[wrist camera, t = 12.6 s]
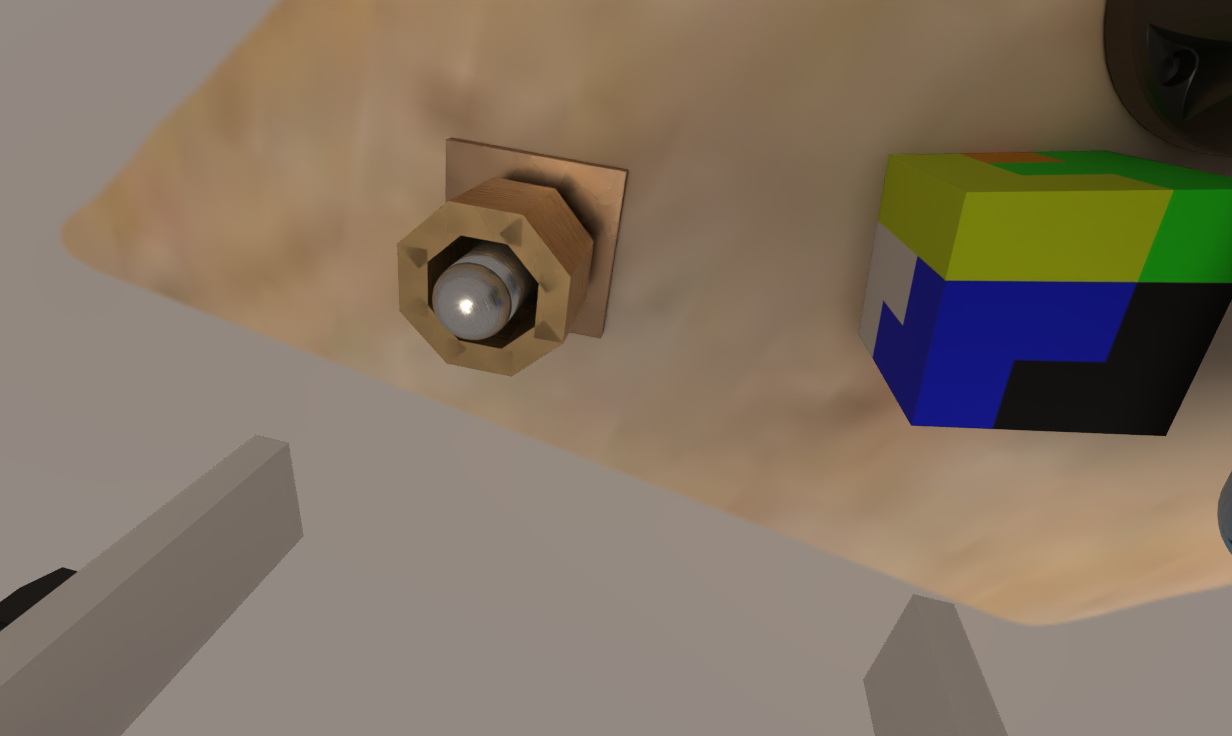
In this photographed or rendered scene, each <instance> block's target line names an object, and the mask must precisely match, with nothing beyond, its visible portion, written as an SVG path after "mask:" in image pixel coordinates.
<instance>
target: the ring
mask: <svg viewBox="0 0 1232 736" xmlns="http://www.w3.org/2000/svg"><path fill="white" fill-rule="evenodd" d="M474 238H477V239H483V240H488V241H493V242H498V243H504V244H508V245H509V246H510V248H511V249H512V250H513V252H514V253H515V254H516V255H517V257H518V258H519V259H520V260H521V262H522V263H523V264H524V265H525V267H526V268H527V269H528V270H529V272H530V273H531V274H532V275H533V277H534V278H535V279H536V281H537V282H538V283H539V288H538V299H537V302H536V303H535V304H532V303H527V302H523V303H522V304H521V306H520V307H519V308H518V309H517V311H516V312H515V313H514V315H513V316H512V317H511V318H510V320H509V321H508V322H507V324H506V325H505V326H504V327H503V328H502V329H501V330H500V331H499V332H498V333H496V334H494V335H492V336H490V337H488V338H484V339H480V340H469V339H463V338H460V337H458V336H455V335H454V334H452V333H450V332H449V331H448V330H446V329H445V328H444V327H443V326H442V324H441V323H440V322H439V320H438V319H437V317H436V315H435V312H434V309H433V302H432V295H433V290H434V286H435V284H436V282H437V280H438V278H439V277H440V275H441V274H442V273H443V272H444V271H445V270H446V269H447V268H449V267H450V266H451V265H453V264H454V263H455V262H456V261H458V260H459V259H460V258H462V257H463V256H464V255H465V254H467V253H468V252H469V251H470V250H472V249H473V248H474ZM593 244H594V241H593V239H592V238H591V237H590V235H589V234H588V232H587V231H586V230H585V228H584V227H583V226H582V224H581V223H580V222H579V220H578V219H577V218H576V216H575V215H574V213H573V212H572V211H571V209H570V208H569V207H568V205H567V204H566V203H565V201H564V200H563V198H562V197H561V196H560V194H559V193H558V192H557V190H556V189H555V188H549V187H544V186H538V185H533V184H527V183H522V182H516V181H511V180H505V179H500V178H495V177H493V178H491V179H489V180H487V181H485V182H483V183H481V184H479V185H477V186H476V187H474V188H472V189H470V190H468V191H466V192H464V193H462V194H460V195H458V196H456V197H454V198H452V199H451V200H449V201H447V202H446V203H445V204H444V205H443V206H442V207H440V208H439V209H438V210H437V211H436V212H434V213H433V214H432V215H431V216H430V217H429V218H427V219H426V220H425V221H424V222H423V223H422V224H420V225H419V226H418V227H417V228H416V229H414V230H413V231H412V232H411V233H410V234H409V235H407V236H406V237H405V238H404V239H403V240H401V241H400V242H399V243H398V244H397V250H398V278H399V306H400V312H401V313H402V314H403V315H404V316H405V318H406V319H407V320H408V321H409V322H410V323H411V324H412V325H413V326H414V328H415V329H416V330H417V331H418V332H419V333H420V334H421V335H422V336H423V338H424V339H425V340H426V341H427V342H428V343H429V344H430V345H431V346H432V348H433V349H434V350H435V351H436V352H437V353H438V354H439V355H440V356H441V358H442V359H443V360H444V361H445V362H446V363H447V364H452V365H457V366H462V367H467V368H472V369H477V370H482V371H487V372H492V373H497V374H502V375H507V376H513V375H514V374H516V373H518V372H519V371H521V370H522V369H524V368H525V367H527V366H528V365H530V364H532V363H533V362H535V361H536V360H538V359H539V358H541V357H542V356H544V355H546V354H547V353H549V352H550V351H552V350H553V349H555V348H556V347H558V346H559V345H561V344H563V342H564V340H565V339H566V337H567V335H568V333H569V331H570V329H571V327H572V325H573V323H574V321H575V319H576V317H577V315H578V313H579V311H580V309H581V308H582V306H583V304H584V302H585V300H586V296H587V289H588V281H589V274H590V266H591V259H592V251H593Z"/></svg>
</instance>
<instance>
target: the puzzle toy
mask: <svg viewBox="0 0 1232 736" xmlns="http://www.w3.org/2000/svg"><path fill="white" fill-rule="evenodd" d="M1231 300H1232V177H1228V176H1223V175H1218V174H1213V173H1209V172H1204V171H1199V170H1195V169H1190V168H1185V167H1180V166H1176V165H1171V164H1166V163H1161V162H1157V161H1152V160H1147V159H1143V158H1138V157H1133V156H1128V155H1124V154H1119V153H1114V152H1109V151H1063V152H1012V153H961V154H911V155H889V158H888V164H887V170H886V176H885V182H884V188H883V194H882V199H881V205H880V211H879V217H878V223H877V229H876V234H875V240H874V246H873V252H872V258H871V264H870V269H869V275H868V281H867V287H866V293H865V299H864V305H863V310H862V316H861V322H860V328H859V335H860V337H861V339H862V341H863V342H864V344H865V346H866V347H867V349H868V351H869V353H870V354H871V356H872V358H873V360H874V361H875V363H876V365H877V367H878V368H879V370H880V372H881V374H882V375H883V377H884V379H885V381H886V382H887V384H888V386H889V388H890V389H891V391H892V393H893V395H894V396H895V398H896V400H897V402H898V403H899V405H900V407H901V409H902V410H903V412H904V414H905V416H906V417H907V419H908V421H909V423H910V424H911V426H935V427H959V428H983V429H1008V430H1032V431H1056V432H1080V433H1104V434H1128V435H1153V436H1166V435H1167V432H1168V430H1169V428H1170V426H1171V424H1172V422H1173V420H1174V418H1175V416H1176V414H1177V412H1178V410H1179V408H1180V406H1181V404H1182V401H1183V399H1184V397H1185V395H1186V393H1187V391H1188V389H1189V387H1190V385H1191V383H1192V381H1193V379H1194V377H1195V375H1196V372H1197V370H1198V368H1199V366H1200V364H1201V362H1202V360H1203V358H1204V356H1205V354H1206V352H1207V350H1208V348H1209V346H1210V343H1211V341H1212V339H1213V337H1214V335H1215V333H1216V331H1217V329H1218V327H1219V325H1220V323H1221V321H1222V319H1223V317H1224V314H1225V312H1226V310H1227V308H1228V306H1229V304H1230V302H1231Z"/></svg>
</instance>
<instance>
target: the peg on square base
mask: <svg viewBox="0 0 1232 736" xmlns="http://www.w3.org/2000/svg"><path fill="white" fill-rule="evenodd" d="M627 172H628V170H627V169H621V168H616V167H610V166H605V165H599V164H594V163H588V162H582V161H577V160H571V159H566V158H560V157H555V156H549V155H544V154H538V153H533V152H527V151H522V150H516V149H510V148H505V147H499V146H494V145H488V144H483V143H477V142H472V141H466V140H461V139H455V138H450V139H446V202H447V201H449V200H451V199H452V198H454V197H456V196H458V195H460V194H462V193H464V192H466V191H468V190H470V189H472V188H474V187H476V186H477V185H479V184H481V183H483V182H485V181H487V180H489V179H491V178H493V177H495V178H500V179H505V180H511V181H516V182H522V183H527V184H533V185H538V186H544V187H549V188H555V189H556V190H557V192H558V193H559V194H560V196H561V197H562V198H563V200H564V201H565V203H566V204H567V205H568V207H569V208H570V209H571V211H572V212H573V213H574V215H575V216H576V218H577V219H578V220H579V222H580V223H581V224H582V226H583V227H584V228H585V230H586V231H587V232H588V234H589V235H590V237H591V238H592V239H593V241H594V244H593V251H592V259H591V266H590V274H589V281H588V289H587V296H586V300H585V302H584V304H583V306H582V308H581V309H580V311H579V313H578V315H577V317H576V319H575V321H574V323H573V325H572V327H571V329H570V331H569V332H571V333H576V334H581V335H586V336H591V337H596V338H601V337H602V334H603V330H604V323H605V317H606V310H607V303H608V297H609V290H610V284H611V277H612V271H613V264H614V257H615V251H616V244H617V238H618V231H619V225H620V218H621V212H622V205H623V198H624V192H625V185H626V179H627ZM538 288H539V283H538V282H537V281H536V279H535V278H534V277H533V275H532V274H531V273H530V272H529V270H528V269H527V268H526V267H525V265H524V264H523V263H522V262H521V260H520V259H519V258H518V257H517V255H516V254H515V253H514V252H513V250H512V249H511V248H510V246H509V245H508V244H504V243H498V242H493V241H488V240H483V239H477V238H474V248H473V249H472V250H470V251H469V252H468V253H467V254H465V255H464V256H463V257H462V258H460V259H459V260H458V261H456V262H455V263H454V264H453V265H451V266H450V267H449V268H447V269H446V270H445V271H444V272H443V273H442V274H441V275H440V277H439V278H438V280H437V282H436V284H435V286H434V290H433V295H432V302H433V309H434V312H435V315H436V317H437V319H438V320H439V322H440V323H441V324H442V326H443V327H444V328H445V329H446V330H448V331H449V332H450V333H452V334H454V335H455V336H458V337H460V338H463V339H469V340H480V339H484V338H488V337H490V336H492V335H494V334H496V333H498V332H499V331H500V330H501V329H502V328H503V327H504V326H505V325H506V324H507V322H508V321H509V320H510V318H511V317H512V316H513V315H514V313H515V312H516V311H517V309H518V308H519V307H520V306H521V304H522V303H523V302H527V303H532V304H535V303H536V302H537V299H538Z"/></svg>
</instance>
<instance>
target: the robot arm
mask: <svg viewBox="0 0 1232 736" xmlns="http://www.w3.org/2000/svg"><path fill="white" fill-rule="evenodd" d="M1105 42H1106V54H1107V61H1108V66H1109V70H1110V74H1111V77H1112V80H1113V83H1114V86H1115V88H1116V90H1117V92H1118V94H1119V97H1120V98H1121V100H1122V102H1123V103H1124V105H1125V107H1126V108H1127V109H1128V111H1129V112H1130V113H1131V114H1132V116H1133V117H1134V118H1135V119H1136V120H1137V121H1138V122H1139V123H1140V124H1141V125H1142V126H1144V127H1145V128H1146V129H1147V130H1148V131H1150V132H1151V133H1153V134H1154V135H1156V136H1157V137H1159V138H1161V139H1163V140H1165V141H1167V142H1168V143H1171V144H1173V145H1176V146H1178V147H1181V148H1185V149H1188V150H1192V151H1196V152H1201V153H1207V154H1213V155H1219V156H1224V157H1230V158H1232V0H1108V6H1107V14H1106V25H1105ZM1218 524H1219V530H1220V533H1221V537H1222V539H1223V541H1224V543H1225V545H1226V547H1227V548H1228V550H1229V552H1230V553H1231V554H1232V472H1231V473H1230V475H1229V477H1228V479H1227V481H1226V483H1225V485H1224V487H1223V489H1222V491H1221V494H1220V498H1219V501H1218ZM302 537H303V530H302V523H301V517H300V512H299V505H298V499H297V492H296V486H295V480H294V473H293V467H292V461H291V455H290V448H289V443H288V442H284V441H280V440H276V439H272V438H267V437H264V436H259V435H254V436H253V437H252V438H251V439H249V440H248V441H247V442H245V443H244V444H243V445H242V446H241V447H239V448H238V449H236V450H235V451H234V452H232V453H231V454H230V455H229V456H227V457H226V458H225V459H223V460H222V461H221V462H219V463H218V464H217V465H216V466H214V467H213V468H212V469H210V470H209V471H208V472H207V473H205V474H204V475H203V476H201V477H200V478H199V479H197V480H196V481H195V482H194V483H192V484H191V485H190V486H188V487H187V488H186V489H184V490H183V491H182V492H181V493H179V494H178V495H177V496H175V497H174V498H173V499H172V500H170V501H169V502H168V503H166V504H165V505H164V506H162V507H161V508H160V509H159V510H157V511H156V512H155V513H153V514H152V515H151V516H149V517H148V518H147V519H146V520H144V521H143V522H142V523H140V524H139V525H138V526H136V527H135V528H134V529H133V530H132V531H130V532H129V533H128V534H126V535H125V536H123V537H122V538H121V539H120V540H118V541H117V542H116V543H114V544H113V545H112V546H111V547H109V548H108V549H107V550H105V551H104V552H103V553H101V554H100V555H99V556H98V557H96V558H95V559H94V560H92V561H91V562H90V563H88V564H87V565H86V566H85V567H83V568H82V569H81V570H79V571H78V572H77V571H74V570H70V569H66V568H63V567H62V568H60V569H58V570H56V571H54V572H52V573H50V574H48V575H46V576H43V577H41V578H39V579H37V580H35V581H33V582H31V583H29V584H27V585H25V586H23V587H21V588H19V589H17V590H16V591H15V592H13V593H12V594H11V595H9V596H8V597H7V598H5V599H4V600H2V601H1V602H0V736H121V735H122V734H123V732H124V731H125V730H126V729H127V728H128V727H129V726H130V725H131V724H132V723H133V721H134V720H135V719H136V718H137V717H138V716H139V715H140V714H141V713H142V712H143V711H144V710H145V708H146V707H147V706H148V705H149V704H150V703H151V702H152V701H153V700H154V698H155V697H156V696H157V695H158V694H159V693H160V692H161V691H162V690H163V689H164V688H165V687H166V685H167V684H168V683H169V682H170V681H171V680H172V679H173V678H174V677H175V676H176V675H177V673H178V672H179V671H180V670H181V669H182V668H183V667H184V666H185V665H186V663H187V662H188V661H189V660H190V659H191V658H192V657H193V656H194V655H195V654H196V653H197V652H198V651H199V649H200V648H201V647H202V646H203V645H204V644H205V643H206V642H207V641H208V640H209V639H210V637H211V636H212V635H213V634H214V633H215V632H216V631H217V630H218V629H219V628H220V627H221V625H222V624H223V623H224V622H225V621H226V620H227V619H228V618H229V617H230V616H231V614H232V613H233V612H234V611H235V610H236V609H237V608H238V607H239V605H241V604H242V602H243V601H244V600H245V599H246V598H247V597H248V596H249V595H250V593H252V592H253V590H254V589H255V588H256V587H257V586H258V585H259V584H260V583H261V582H262V581H263V579H264V578H265V577H266V576H267V575H268V574H269V573H270V572H271V570H273V569H274V568H275V566H276V565H277V564H278V563H279V562H280V561H281V560H282V559H283V558H284V557H285V555H286V554H287V553H288V552H289V551H290V550H291V549H292V548H293V547H294V546H295V545H296V543H297V542H298V541H299V540H300V539H301V538H302ZM863 681H864V685H865V690H866V695H867V700H868V705H869V709H870V713H871V719H872V723H873V728H874V733H875V736H1008V735H1007V732H1006V730H1005V727H1004V725H1003V722H1002V720H1001V718H1000V715H999V713H998V710H997V708H996V705H995V703H994V700H993V698H992V696H991V693H990V691H989V688H988V687H987V684H986V681H985V679H984V676H983V674H982V672H981V669H980V666H979V664H978V662H977V659H976V657H975V654H974V652H973V650H972V647H971V645H970V642H969V640H968V637H967V635H966V633H965V630H964V628H963V625H962V623H961V620H960V618H959V615H958V613H957V611H956V608H955V606H954V604H952V603H948V602H943V601H939V600H935V599H931V598H927V597H923V596H919V595H915V594H913V596H912V597H911V599H910V601H909V603H908V604H907V606H906V608H905V609H904V611H903V613H902V615H901V616H900V618H899V620H898V621H897V623H896V625H895V627H894V628H893V630H892V632H891V633H890V635H889V637H888V638H887V640H886V642H885V644H884V645H883V647H882V649H881V650H880V652H879V654H878V656H877V657H876V659H875V661H874V662H873V664H872V666H871V667H870V670H869V671H868V673H867V674H866V676H865V678H864V679H863Z"/></svg>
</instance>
